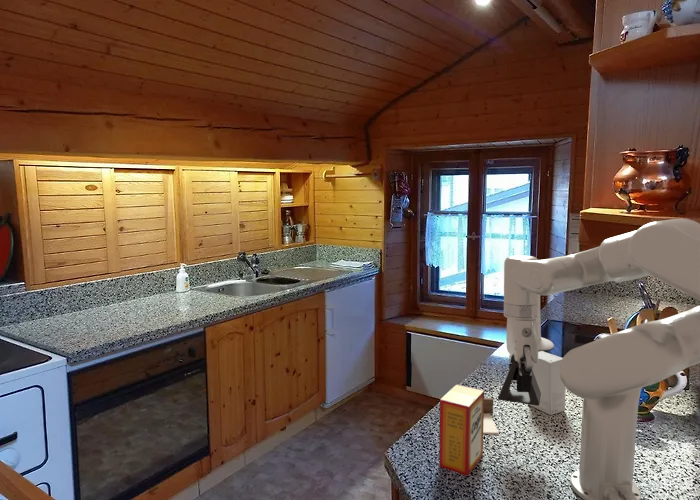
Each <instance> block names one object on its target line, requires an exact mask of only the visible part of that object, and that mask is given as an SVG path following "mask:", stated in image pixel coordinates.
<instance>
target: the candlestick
mask: <svg viewBox="0 0 700 500" xmlns="http://www.w3.org/2000/svg"><path fill="white" fill-rule="evenodd" d="M541 320H542V319H541V295H539V313H538V318H537V319H536V323H537V333H538V351H539V352H540V351H549V350H552V349H553V348H554V347H555V346H554V343H553V342H552V341H551V340H550V339H547V338H545V337H542V333H541V332H542V327H541V324H542V323H541Z"/></svg>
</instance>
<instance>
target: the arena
mask: <svg viewBox="0 0 700 500" xmlns="http://www.w3.org/2000/svg"><path fill="white" fill-rule="evenodd" d="M484 414H494V398H493V397H484Z"/></svg>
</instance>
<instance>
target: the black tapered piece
mask: <svg viewBox="0 0 700 500" xmlns="http://www.w3.org/2000/svg"><path fill="white" fill-rule="evenodd" d="M513 356H514V355H512V363H511V364H512V365H511V367H510V370H509V369H508V372H507V375H506V377H505V380H504V382H503V384H502V386H501V389H500V392H499V394H498V397H497V399H498V401H504V402H510V403H515V404H516V403H519V404H524V405H528V404H530V405H529V406H531V405H537V406H538V405H539V403H540V398H541V392H540V389H539V386H538V384H537V381H536V378H535V375H534V373H533V370H532V382H531V380H530V392H518V391H517V390H514V389H511V385H512V382H513V381H512V379H513V376H514V372H515V369H516V367H518V364H517V362H516V361H515V360H514V358H513ZM520 360H521V361H525V359H520ZM523 366H525V364H521V368H523Z"/></svg>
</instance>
